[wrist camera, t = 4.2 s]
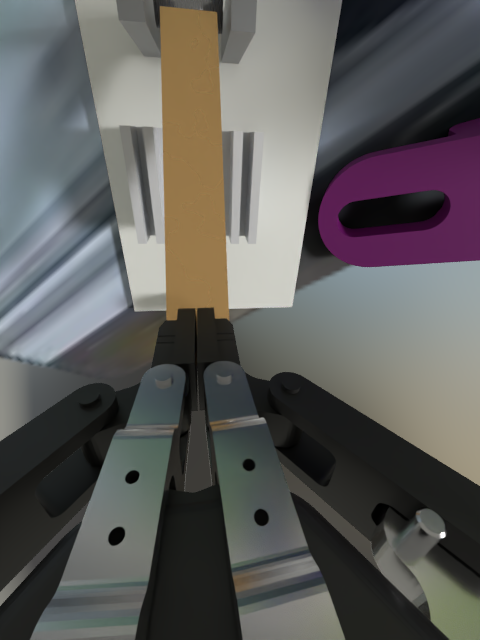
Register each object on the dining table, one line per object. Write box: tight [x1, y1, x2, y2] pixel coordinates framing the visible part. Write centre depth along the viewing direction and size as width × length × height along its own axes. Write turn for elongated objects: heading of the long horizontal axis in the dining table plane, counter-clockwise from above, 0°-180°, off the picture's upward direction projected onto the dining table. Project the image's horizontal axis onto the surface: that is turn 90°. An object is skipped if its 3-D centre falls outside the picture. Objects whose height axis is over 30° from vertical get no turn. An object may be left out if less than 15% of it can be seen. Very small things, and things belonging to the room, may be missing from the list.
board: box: [75, 0, 342, 311], centre depth 21 cm, size 17×26×8 cm, turn 178°
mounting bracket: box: [318, 118, 480, 267], centre depth 25 cm, size 9×8×18 cm
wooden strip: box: [153, 0, 229, 329], centre depth 14 cm, size 19×3×1 cm
